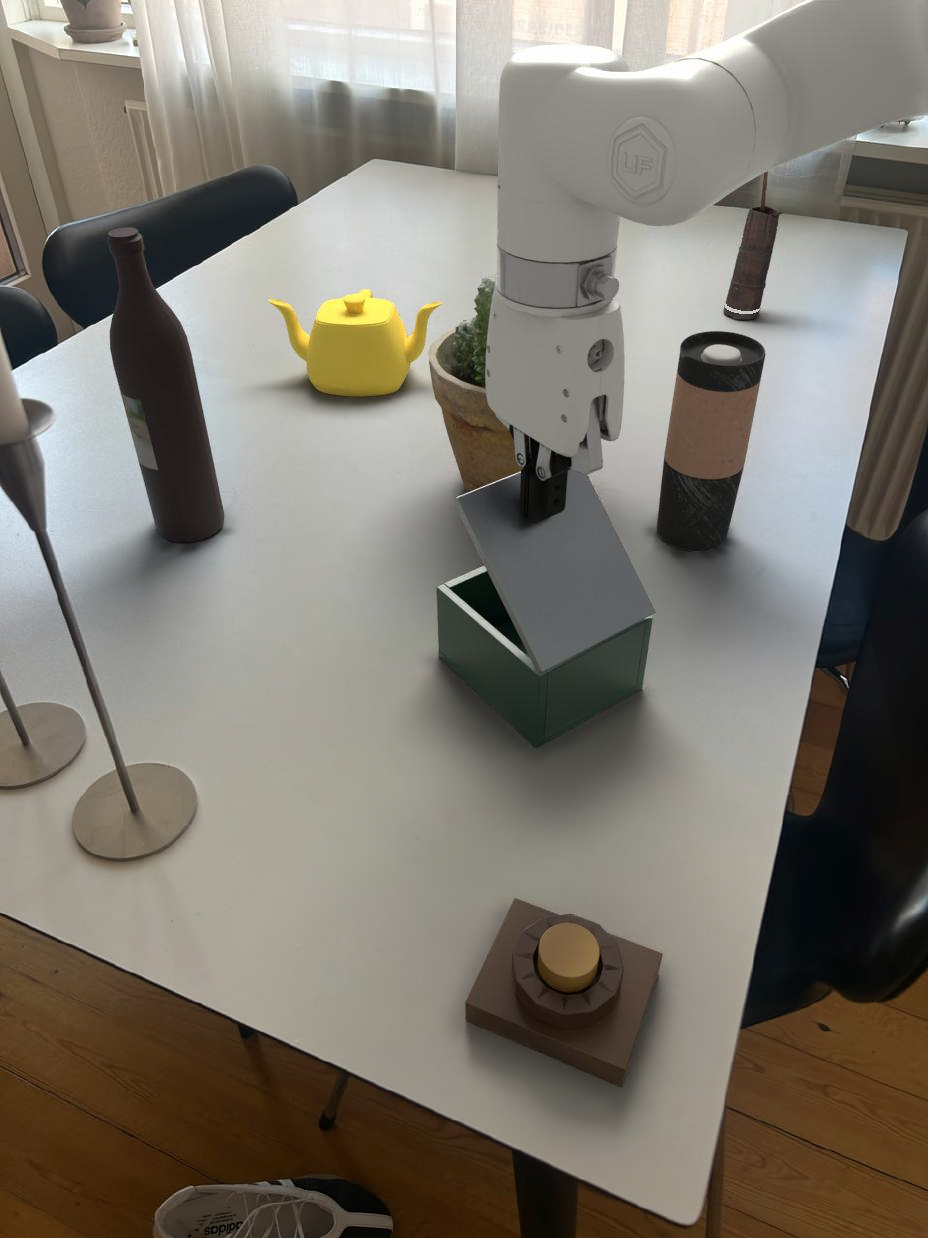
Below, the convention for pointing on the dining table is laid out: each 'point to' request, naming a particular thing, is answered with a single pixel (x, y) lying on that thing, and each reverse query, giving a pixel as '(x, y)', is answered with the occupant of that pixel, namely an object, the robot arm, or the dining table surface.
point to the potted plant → (471, 398)
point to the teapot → (357, 344)
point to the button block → (565, 995)
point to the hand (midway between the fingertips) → (542, 512)
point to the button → (568, 957)
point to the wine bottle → (162, 400)
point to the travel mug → (708, 437)
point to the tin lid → (555, 568)
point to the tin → (506, 676)
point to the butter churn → (753, 259)
